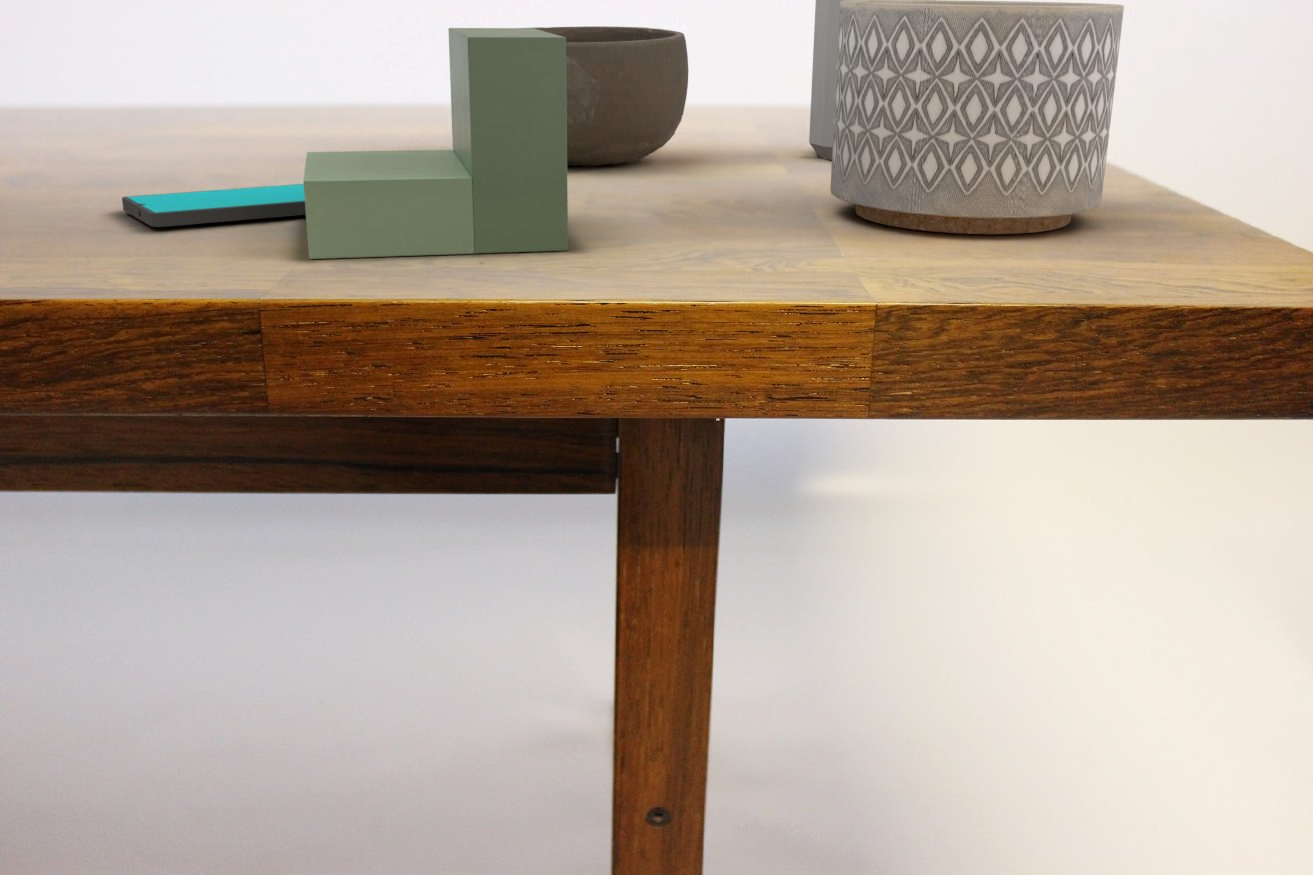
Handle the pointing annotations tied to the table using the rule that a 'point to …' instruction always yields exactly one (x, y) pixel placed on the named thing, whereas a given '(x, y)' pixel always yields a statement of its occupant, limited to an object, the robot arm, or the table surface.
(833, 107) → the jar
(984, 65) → the planter
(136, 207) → the smartphone
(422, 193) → the sage green l-block
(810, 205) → the table surface
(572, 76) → the bowl
